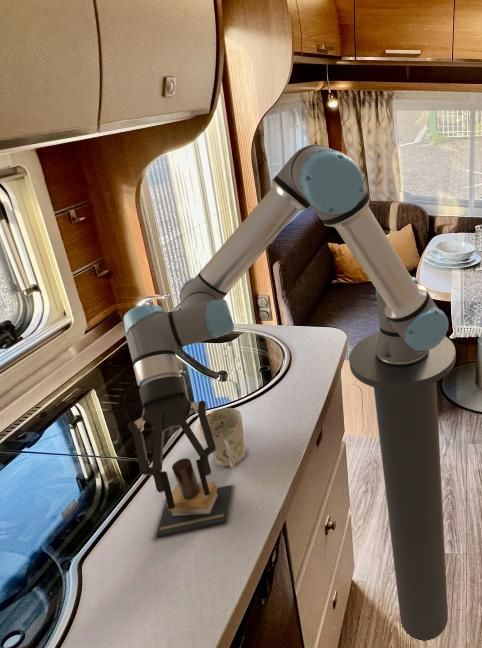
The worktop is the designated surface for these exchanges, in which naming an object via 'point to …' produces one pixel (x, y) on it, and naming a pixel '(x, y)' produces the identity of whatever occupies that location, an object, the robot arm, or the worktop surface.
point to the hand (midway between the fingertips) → (189, 501)
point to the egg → (197, 429)
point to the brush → (190, 491)
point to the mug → (226, 436)
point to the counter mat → (196, 516)
